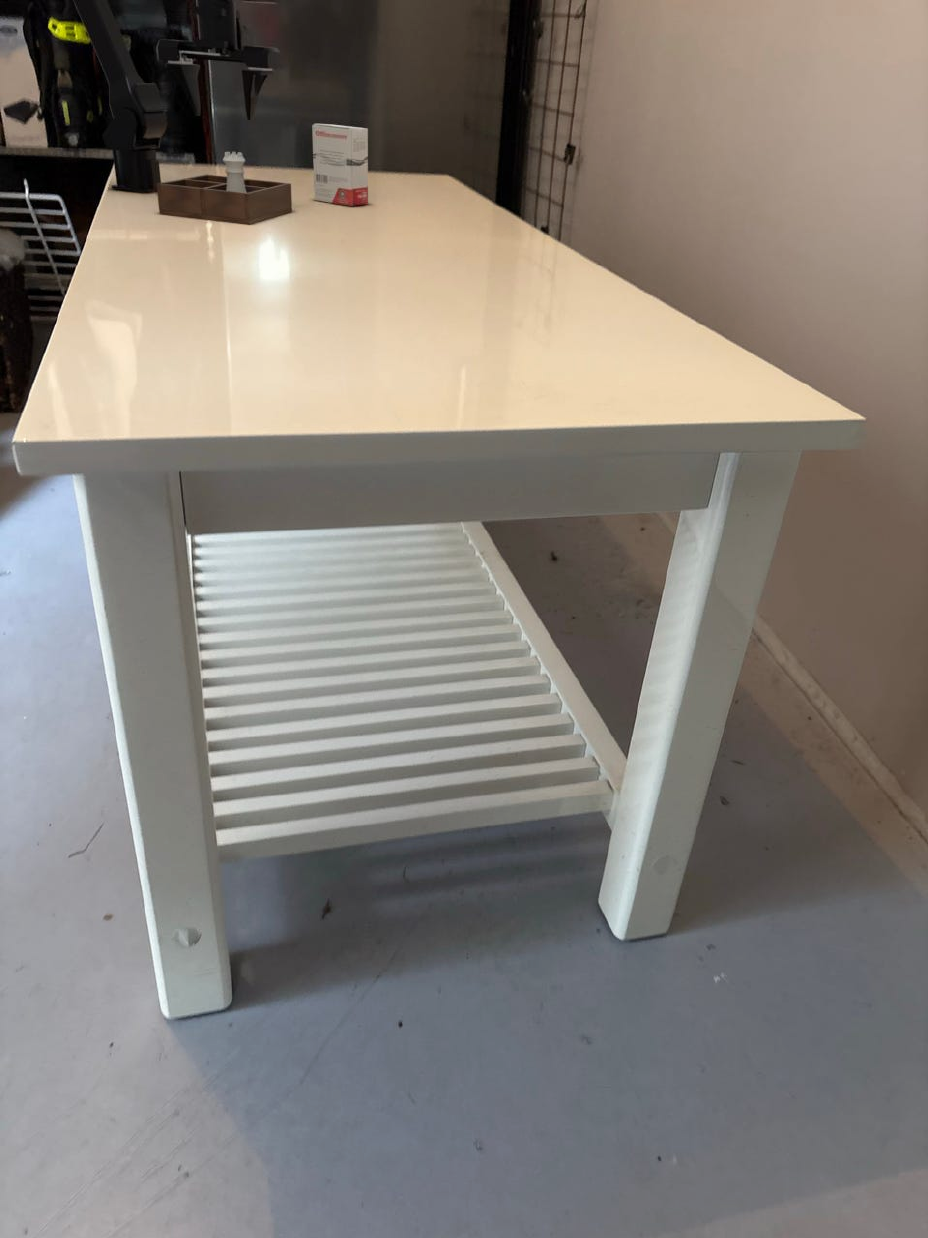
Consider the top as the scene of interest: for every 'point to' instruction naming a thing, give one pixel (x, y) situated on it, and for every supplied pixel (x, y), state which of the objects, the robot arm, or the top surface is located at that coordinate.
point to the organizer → (224, 199)
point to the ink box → (340, 164)
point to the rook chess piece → (235, 172)
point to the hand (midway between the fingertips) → (223, 117)
